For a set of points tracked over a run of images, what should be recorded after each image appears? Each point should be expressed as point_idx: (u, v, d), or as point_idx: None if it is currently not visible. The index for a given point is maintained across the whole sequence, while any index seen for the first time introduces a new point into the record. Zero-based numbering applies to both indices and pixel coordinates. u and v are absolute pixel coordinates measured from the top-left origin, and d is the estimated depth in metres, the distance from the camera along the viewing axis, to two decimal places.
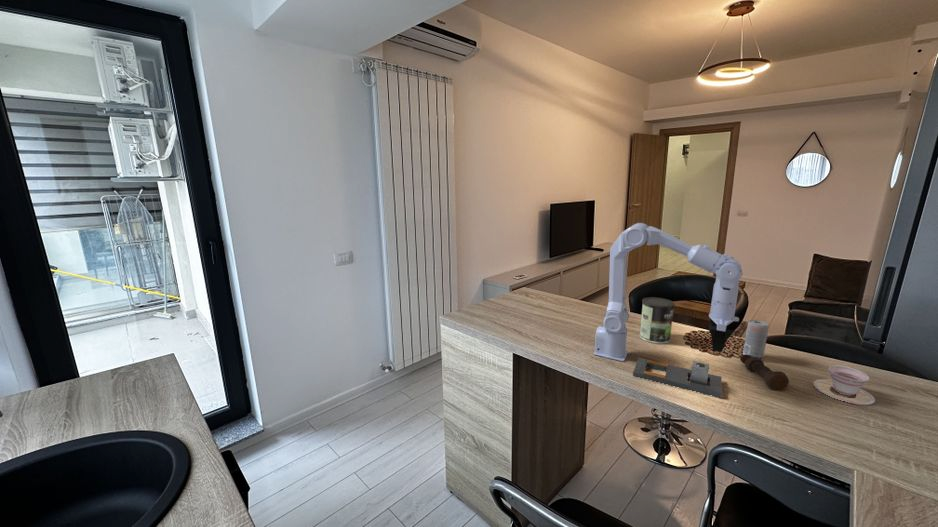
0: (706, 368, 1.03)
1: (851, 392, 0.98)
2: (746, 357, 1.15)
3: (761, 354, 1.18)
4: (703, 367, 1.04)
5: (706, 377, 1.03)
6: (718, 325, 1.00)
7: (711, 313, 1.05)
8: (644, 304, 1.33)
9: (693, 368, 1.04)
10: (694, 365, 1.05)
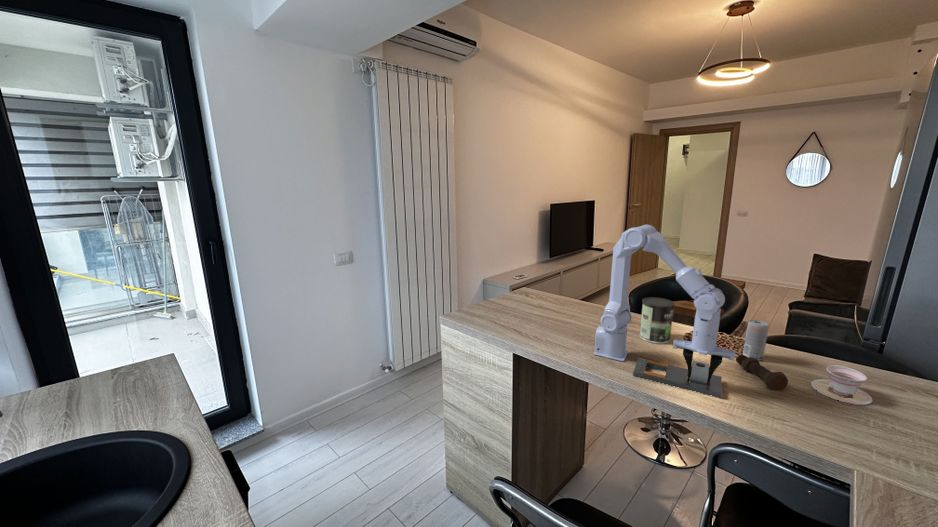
0: (706, 368, 1.03)
1: (848, 392, 0.98)
2: (742, 358, 1.14)
3: (761, 354, 1.18)
4: (703, 367, 1.04)
5: (706, 377, 1.03)
6: None
7: None
8: (644, 304, 1.33)
9: (693, 368, 1.04)
10: (694, 365, 1.05)
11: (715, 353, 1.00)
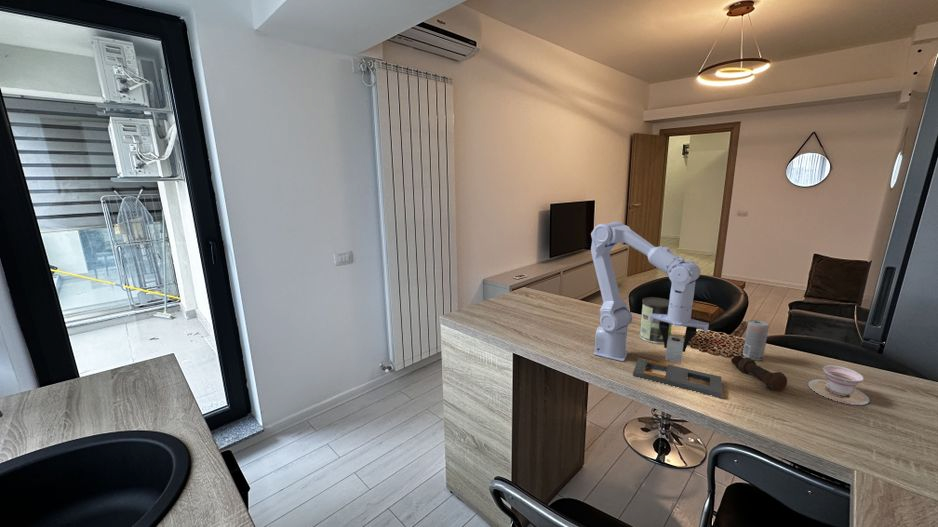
0: (681, 342, 1.05)
1: (845, 392, 0.98)
2: (737, 358, 1.14)
3: (761, 354, 1.18)
4: (678, 341, 1.05)
5: (681, 351, 1.05)
6: None
7: None
8: (644, 304, 1.33)
9: (668, 342, 1.06)
10: (669, 339, 1.07)
11: (689, 324, 1.02)
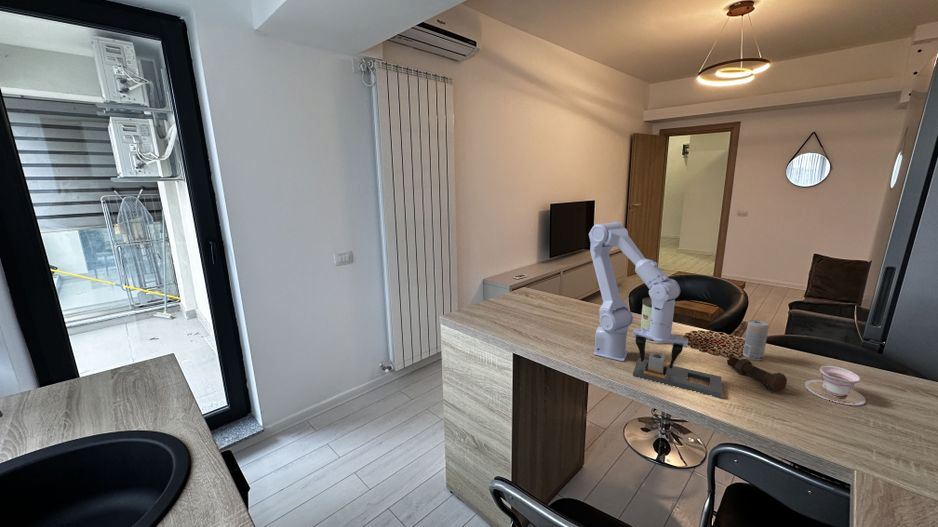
0: (662, 359, 1.09)
1: (842, 393, 0.98)
2: (734, 360, 1.13)
3: (761, 354, 1.18)
4: (659, 358, 1.09)
5: (662, 367, 1.08)
6: None
7: None
8: (644, 304, 1.33)
9: (650, 359, 1.10)
10: (651, 356, 1.10)
11: (670, 341, 1.06)
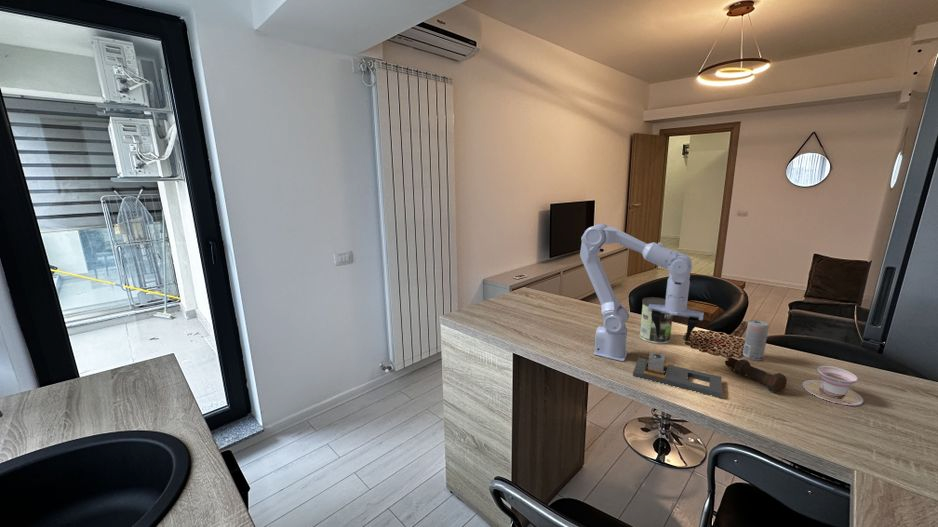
0: (662, 359, 1.09)
1: (839, 393, 0.98)
2: (732, 360, 1.13)
3: (761, 354, 1.18)
4: (659, 358, 1.09)
5: (662, 367, 1.08)
6: None
7: None
8: (644, 304, 1.33)
9: (650, 359, 1.10)
10: (651, 356, 1.10)
11: (685, 314, 1.08)
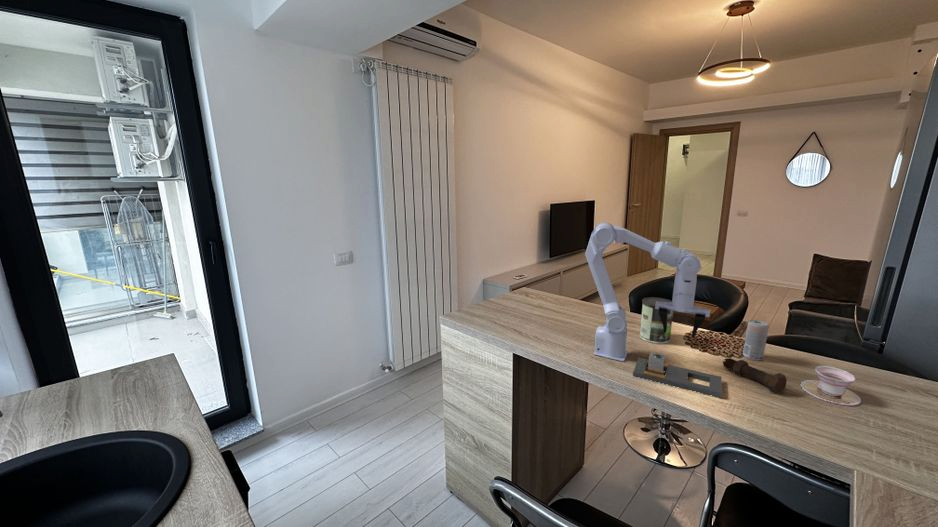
0: (662, 359, 1.09)
1: (837, 393, 0.98)
2: (730, 361, 1.12)
3: (761, 354, 1.18)
4: (659, 358, 1.09)
5: (662, 367, 1.08)
6: None
7: None
8: (644, 304, 1.33)
9: (650, 359, 1.10)
10: (651, 356, 1.10)
11: (692, 311, 1.11)
